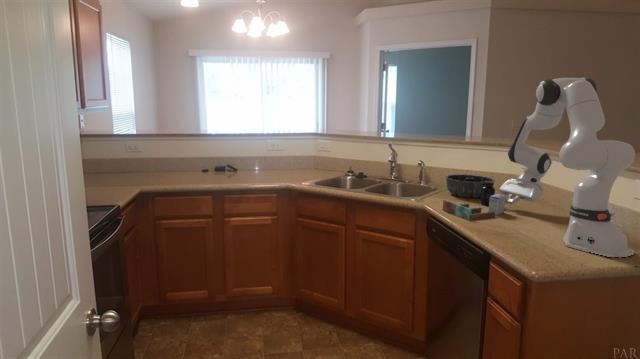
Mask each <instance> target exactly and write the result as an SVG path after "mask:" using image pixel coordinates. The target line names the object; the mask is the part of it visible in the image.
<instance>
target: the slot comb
mask: <svg viewBox="0 0 640 359" xmlns="http://www.w3.org/2000/svg"><path fill="white" fill-rule="evenodd" d="M442 211H443V212H445V213H448V214H451V215H454V216H457V217H458V218H459V217H460V218H462V219H464V220H467V221H472V220H479V219H488V218H489V219H490V218H495V216H496V215H495V212H488V211H486V212H482V207H473V208H470V204H469V203H463V204H458V203H454V202H452V201H448V200H446V199H445V200H443V202H442Z"/></svg>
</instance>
